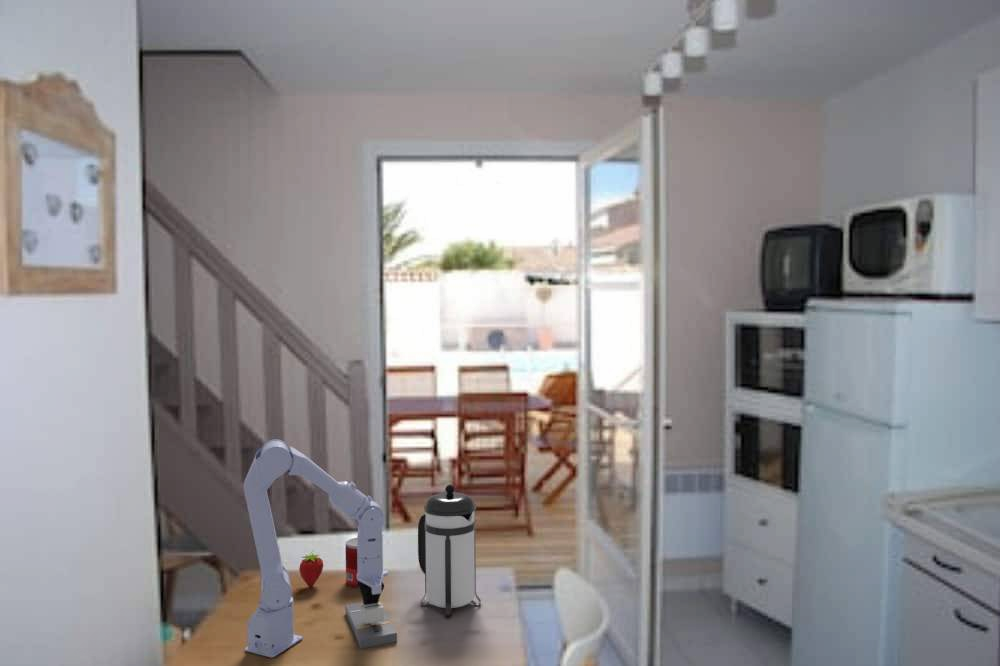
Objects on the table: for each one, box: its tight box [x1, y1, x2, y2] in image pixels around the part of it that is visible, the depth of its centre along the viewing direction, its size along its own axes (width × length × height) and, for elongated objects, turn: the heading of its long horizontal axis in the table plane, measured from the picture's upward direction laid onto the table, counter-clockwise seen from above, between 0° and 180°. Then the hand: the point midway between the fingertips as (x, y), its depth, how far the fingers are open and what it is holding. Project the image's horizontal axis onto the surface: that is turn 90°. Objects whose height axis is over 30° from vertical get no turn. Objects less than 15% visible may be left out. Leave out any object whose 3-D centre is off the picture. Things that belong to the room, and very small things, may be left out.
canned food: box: [345, 537, 359, 588], centre depth 182 cm, size 8×8×11 cm
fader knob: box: [363, 602, 385, 625], centre depth 152 cm, size 3×4×4 cm
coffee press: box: [417, 484, 482, 618], centre depth 168 cm, size 17×16×30 cm
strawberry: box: [299, 550, 324, 588], centre depth 179 cm, size 6×8×10 cm
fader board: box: [345, 600, 398, 650], centre depth 156 cm, size 19×8×2 cm, turn 22°
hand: (370, 613), depth 155 cm, fingers closed
